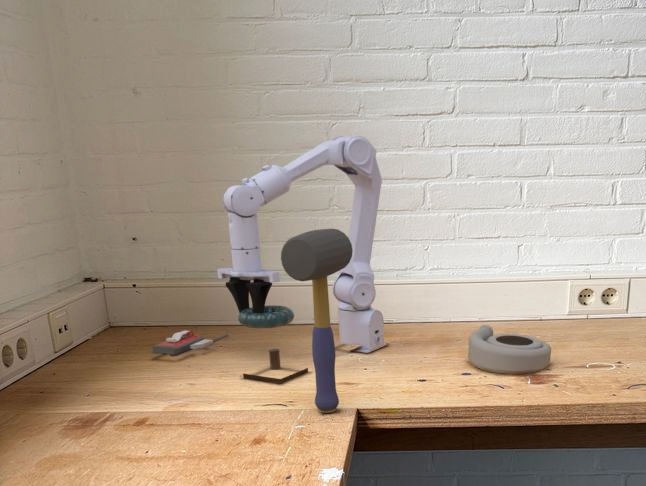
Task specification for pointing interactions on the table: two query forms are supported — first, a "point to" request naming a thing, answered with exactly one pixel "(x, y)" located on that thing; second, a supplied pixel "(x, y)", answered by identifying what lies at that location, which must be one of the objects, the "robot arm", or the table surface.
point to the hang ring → (266, 317)
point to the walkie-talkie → (183, 343)
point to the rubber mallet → (319, 298)
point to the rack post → (275, 365)
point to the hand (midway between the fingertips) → (251, 315)
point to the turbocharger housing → (507, 352)
